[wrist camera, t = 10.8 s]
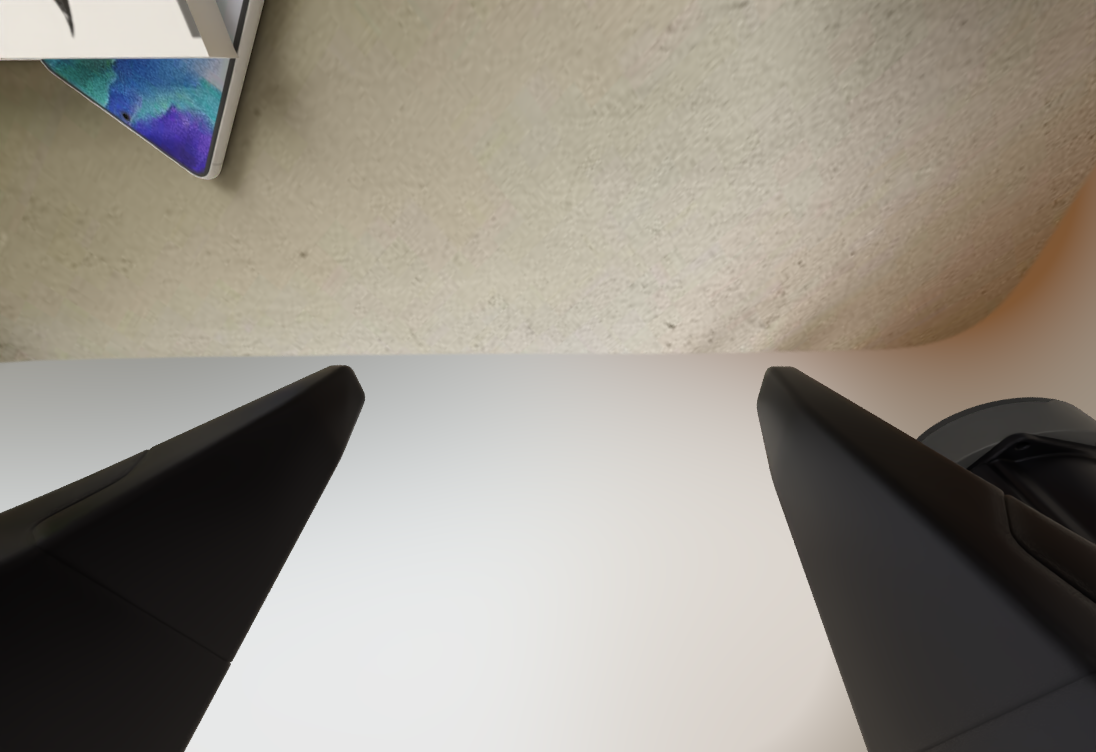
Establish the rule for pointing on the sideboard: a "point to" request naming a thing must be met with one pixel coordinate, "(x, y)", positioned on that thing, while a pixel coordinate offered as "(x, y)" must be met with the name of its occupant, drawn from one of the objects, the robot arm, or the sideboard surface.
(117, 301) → the sideboard surface
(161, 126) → the smartphone
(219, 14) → the book
